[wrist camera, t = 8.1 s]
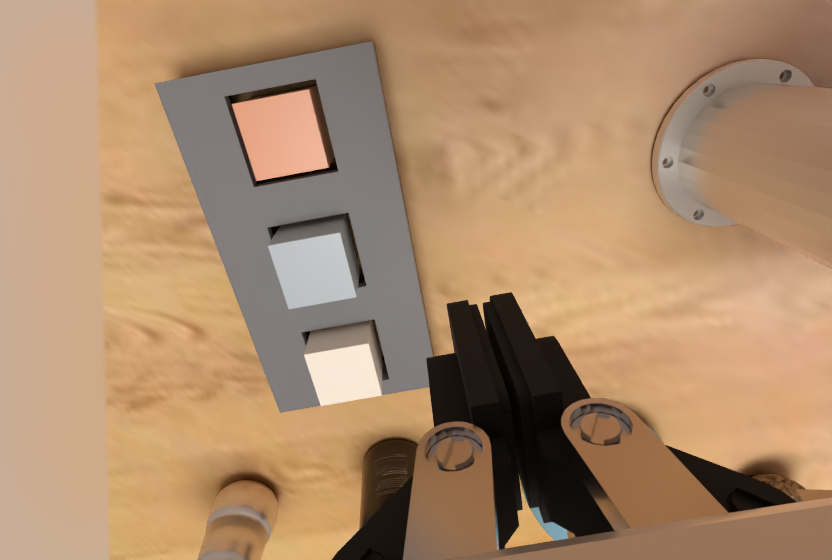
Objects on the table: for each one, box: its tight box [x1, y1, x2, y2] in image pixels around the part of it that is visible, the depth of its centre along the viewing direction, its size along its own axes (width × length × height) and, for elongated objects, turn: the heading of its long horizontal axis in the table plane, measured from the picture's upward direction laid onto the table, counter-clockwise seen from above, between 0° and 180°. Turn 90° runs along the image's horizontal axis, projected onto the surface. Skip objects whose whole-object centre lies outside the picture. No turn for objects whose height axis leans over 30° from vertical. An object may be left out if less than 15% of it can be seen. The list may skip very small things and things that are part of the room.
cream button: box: [304, 320, 383, 406], centre depth 39 cm, size 5×5×4 cm
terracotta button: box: [232, 86, 335, 181], centre depth 33 cm, size 5×5×4 cm
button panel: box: [155, 41, 434, 413], centre depth 38 cm, size 14×27×4 cm, turn 10°
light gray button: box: [268, 213, 360, 309], centre depth 35 cm, size 5×5×4 cm
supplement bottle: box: [359, 440, 418, 530], centre depth 45 cm, size 7×7×12 cm
